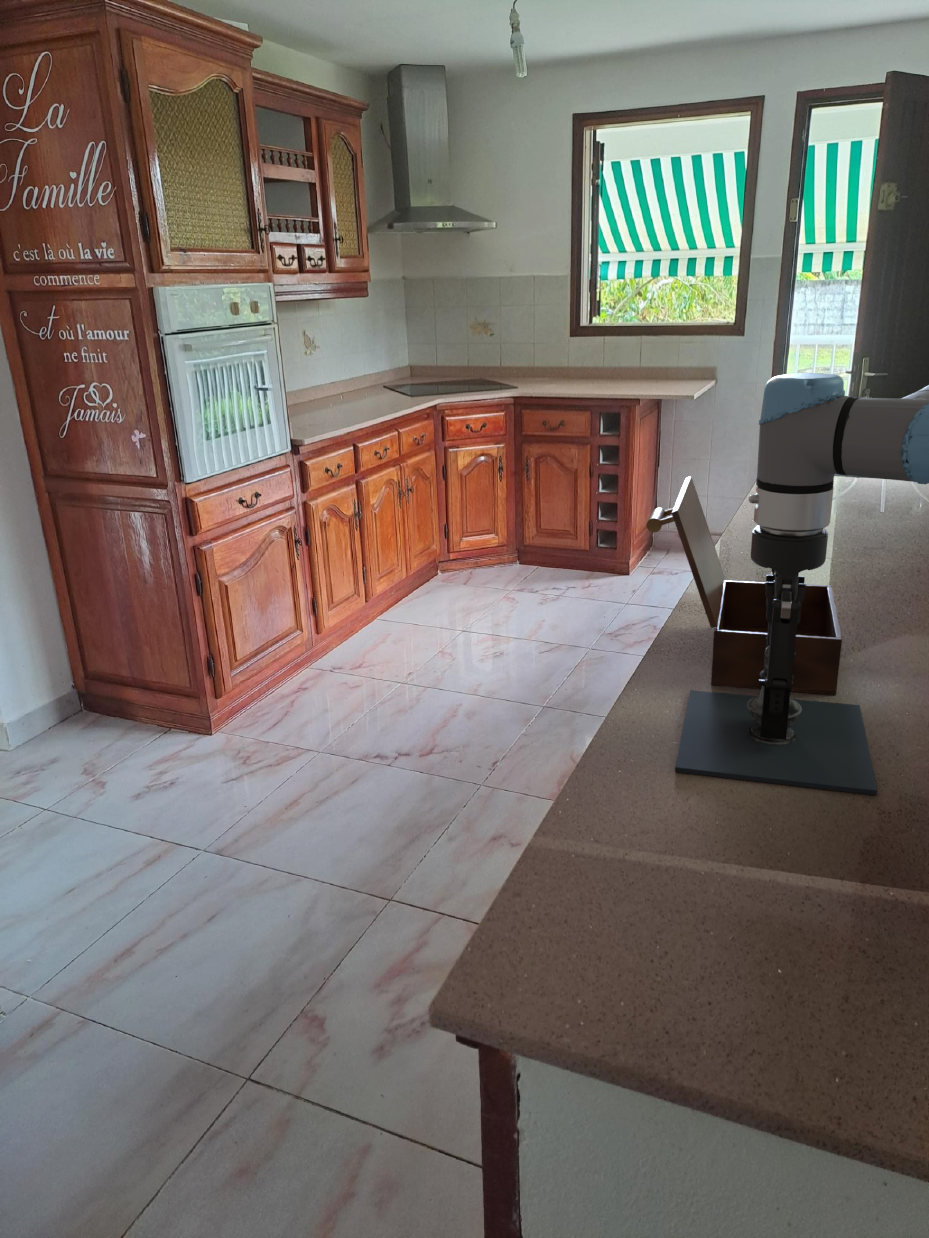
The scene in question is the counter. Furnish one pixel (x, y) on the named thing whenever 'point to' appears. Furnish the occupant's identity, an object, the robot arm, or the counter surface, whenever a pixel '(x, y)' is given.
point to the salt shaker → (756, 714)
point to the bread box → (747, 632)
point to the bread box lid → (695, 546)
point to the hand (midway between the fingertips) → (772, 723)
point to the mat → (815, 759)
